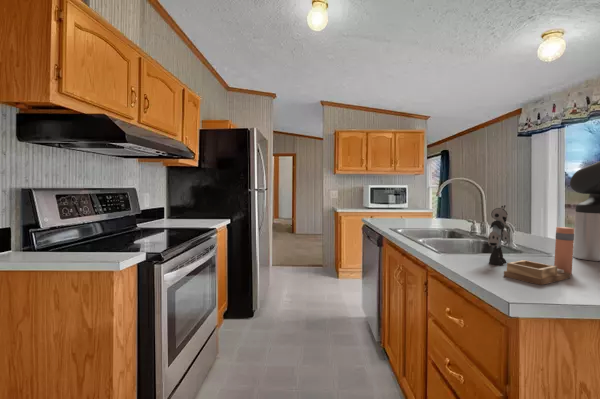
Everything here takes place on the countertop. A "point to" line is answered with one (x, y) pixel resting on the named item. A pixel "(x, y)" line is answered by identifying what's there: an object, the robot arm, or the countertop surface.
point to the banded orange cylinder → (564, 248)
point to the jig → (535, 272)
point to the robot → (498, 236)
